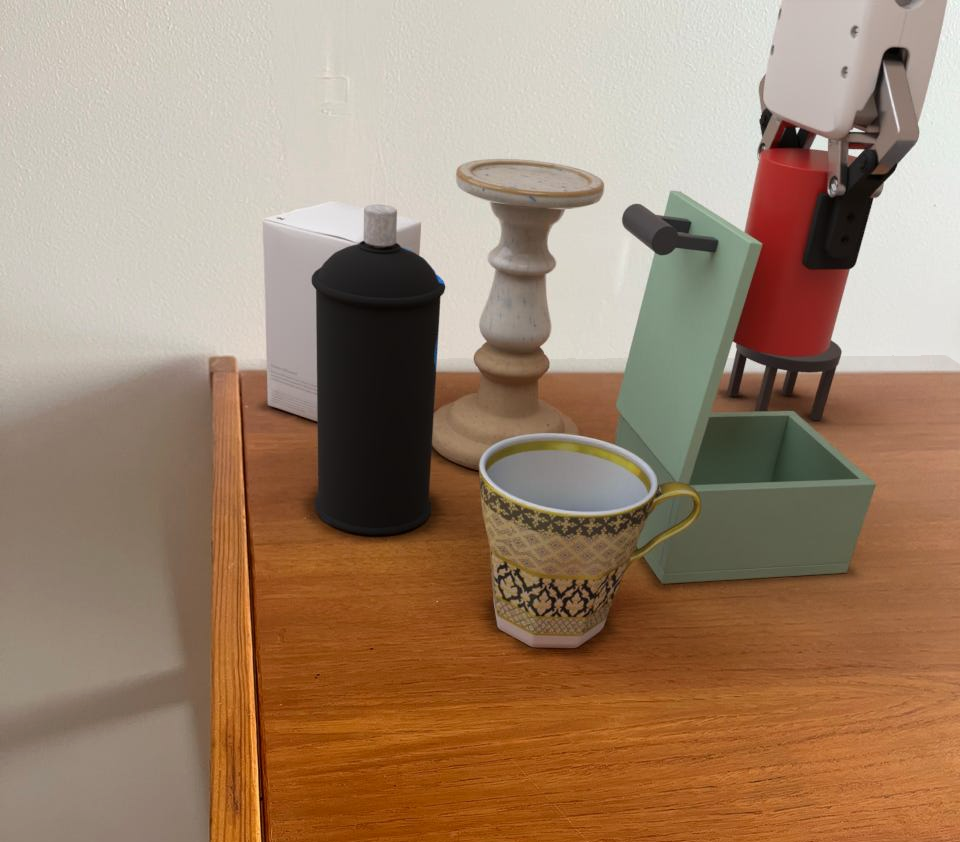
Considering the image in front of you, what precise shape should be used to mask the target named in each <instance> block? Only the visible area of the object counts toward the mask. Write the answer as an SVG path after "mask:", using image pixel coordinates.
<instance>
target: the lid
mask: <svg viewBox="0 0 960 842" xmlns="http://www.w3.org/2000/svg"><path fill="white" fill-rule="evenodd" d="M621 217H622V218H621V223H622V226H623V228H624V229H625V230H626V231H627V232H629V233H630V234H631V235H632V236H634V237H635V239H638V241H640V242H641V243H642V244H644V245H645V246H646V247H648V248H649V249H650V250H651V251H653V252H654V253H653V257H652V260H651V261H652V262H651V264H650V268H649V269H650V270H649V274H648V277H647V281H646V285H645V288H644V293H643V296H642V301H641V305H640V309H639V314H638V317H637V319H636V320H637V321H636V325H635V329H634V332H633V335H632V341H631V344H630V348H629V352H628V356H627V360H626V364H625V368H624V372H623V376H622V380H621V385H620V388H619V392H618V396H617V400H616V404H615V409H616V411H618V412H619V414H621V415H622V416H623V417H624V418H625V420H626V421H627V422H628V423H629V425H630V426H631V427H632V428H633V430H634V431H635V432H636V433H637V434H638V436H639V437H640V438H641V439H642V441H643V442H644V443H645V444H646V446H647V447H648V448H649V449H650V450H651V452H652V453H653V454H654V455H655V457H656V458H657V459H658V460H659V461H660V463H661V464H662V465H663V466H664V468H665V469H666V470H667V471H668V473H669V474H670V475H671V476H672V477H673V479H674V480H675V481H676V482H681V483H685V484H689V482H690V478H691V475H692V472H693V469H694V465H695V462H696V459H697V456H698V452H699V449H700V446H701V443H702V439H703V436H704V433H705V430H706V426H707V423H708V420H709V417H710V413H712V409H713V407H714V403H715V400H716V397H717V393H718V390H719V387H720V384H721V381H722V377H723V375H724V371H725V368H726V364H727V361H728V358H729V355H730V352H731V349H732V346H733V343H734V342H733V339H734V336H735V332H736V329H737V326H738V323H739V319H740V316H741V313H742V310H743V306H744V303H745V300H746V297H747V293H748V290H749V287H750V284H751V280H752V277H753V274H754V271H755V267H756V264H757V261H758V258H759V254H760V251H761V248H762V243H761V242H759V241H758V240H756V239H754V238H753V237H751V236H750V235H748V234H747V233H745V232H744V230H742V229H741V228H739V227H737V226H735V225H734V224H733V223H731V222H729V221H728V220H726V219H725V218H723V217H722V216H720V215H718V214H717V213H715V212H714V211H712V210H711V209H709V208H708V207H705V206H704V205H703V204H701V203H699V202H698V201H696V200H695V199H693V198H691V197H690V196H688V195H687V194H685V193H684V192H682V191H681V190H680V191H678V190H670V191H669V194H668V197H667V202H666V206H665V210H664V214H663V215H662V214H655V213H654V212H653V211H651V210H650V209H649V208H647V206H644V205H643V204H640V203H633V204H631V205H629V206H628V207H626V209H624V211H623V213H622V216H621Z"/></svg>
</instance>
